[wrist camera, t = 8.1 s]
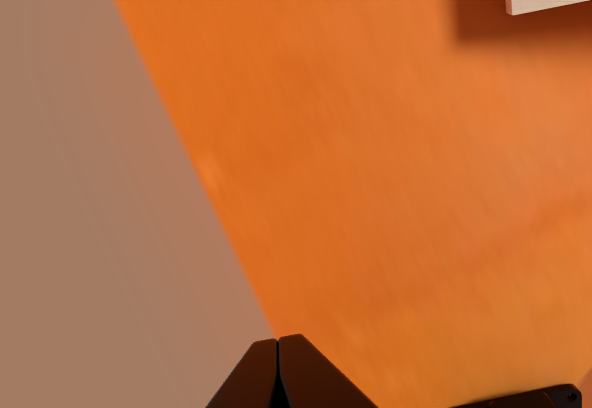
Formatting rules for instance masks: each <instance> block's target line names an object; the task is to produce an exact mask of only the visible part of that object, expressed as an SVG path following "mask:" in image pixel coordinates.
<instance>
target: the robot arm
mask: <svg viewBox="0 0 592 408" xmlns="http://www.w3.org/2000/svg"><path fill="white" fill-rule="evenodd" d="M569 394H570V395H569ZM568 395H569V396H568ZM205 408H378V407H377V406H376V405H375V404H374V403H373V402H372V401H371V400H370V399H369V398H368V397H367V396H366V395H365V394H364V393H363V392H362V391H361V390H360V389H359V388H358V387H357V386H355V385H354V384H353V383H352V382H351V381H350V380H349V379H348V378H347V377H346V376H345V375H344V374H343V373H342V372H341V371H340V370H339V369H338V368H337V367H336V366H335V365H334V364H332V363H331V362H330V361H329V360H328V359H327V358H326V357H325V356H324V355H323V354H322V353H321V352H320V351H319V350H318V349H317V348H316V347H315V346H314V345H313V344H312V343H311V342H309V341H308V340H307V339H306V338H305V337H304V336H303V335H302V334H295V335H289V336H284V337H280V338H279V340H278V341H277V340H276V339H267V340H261V341H256V342H254V343H253V344H252V345H251V346H250V348H249V349H248V351H247V352H246V353H245V354H244V356H243V357H242V359H241V360H240V361H239V363H238V364H237V365H236V367H235V368H234V369H233V371H232V372H231V373H230V375H229V376H228V378H227V379H226V380H225V382H224V383H223V384H222V386H221V387H220V388H219V390H218V391H217V393H216V394H215V395H214V397H213V398H212V399H211V401H210V402H209V403H208V405H207V406H206V407H205ZM456 408H582V395H581V392H580V391H579V390H578V389H577V388H576V387H575V386H574V385H573V384H564V385H559V386H555V387H550V388H545V389H541V390H536V391H531V392H526V393H522V394H517V395H512V396H507V397H503V398H498V399H493V400H489V401H484V402H479V403H474V404H470V405H465V406H460V407H456Z"/></svg>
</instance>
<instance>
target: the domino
mask: <svg viewBox="0 0 592 408" xmlns="http://www.w3.org/2000/svg"><path fill="white" fill-rule="evenodd" d="M505 1H506V13H508V14H510V15H518V14H523V13H528V12H533V11H538V10H543V9H548V8H553V7H558V6H563V5H568V4H573V3H578V2H583V1H588V0H505Z"/></svg>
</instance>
